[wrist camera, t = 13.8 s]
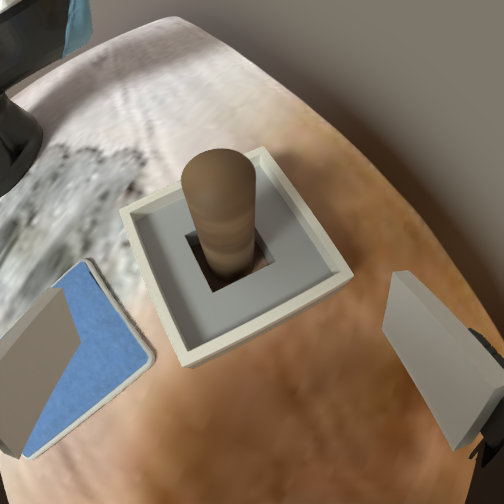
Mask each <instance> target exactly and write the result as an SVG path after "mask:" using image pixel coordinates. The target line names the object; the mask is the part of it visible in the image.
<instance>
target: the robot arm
mask: <svg viewBox="0 0 504 504" xmlns="http://www.w3.org/2000/svg"><path fill="white" fill-rule="evenodd" d="M92 34H93V28H92V18H91V10H90V3H89V0H0V197H1V196H2V195H4V194H5V193H6V192H7V191H9V190H10V189H11V188H12V187H13V186H14V185H15V184H16V183H17V182H18V181H19V180H20V178H21V177H22V176H23V175H24V174H25V172H26V171H27V170H28V168H29V167H30V165H31V164H32V162H33V161H34V159H35V157H36V155H37V153H38V151H39V149H40V146H41V143H42V138H43V132H42V128H41V126H40V125H39V123H38V122H37V120H36V119H35V118H34V117H33V116H32V115H31V114H29V113H28V112H27V111H25V110H24V109H22V108H21V107H19V106H18V105H16V104H15V103H14V102H12V101H11V100H10V99H9V98H8V97H7V95H6V94H5V91H7V90H9V89H10V88H11V87H13V86H15V85H16V84H18V83H19V82H21V81H22V80H24V79H26V78H27V77H29V76H30V75H32V74H34V73H36V72H37V71H39V70H41V69H43V68H44V67H46V66H48V65H50V64H52V63H53V62H55V61H57V60H59V59H64V58H65V57H66V55H68V54H70V53H72V52H74V51H76V50H77V49H79V48H81V47H83V46H85V45H86V44H87V43H88V42H89V40H90V39H91V37H92ZM382 331H383V333H384V334H385V336H386V337H387V339H388V341H389V342H390V344H391V345H392V347H393V348H394V350H395V352H396V353H397V355H398V356H399V358H400V360H401V361H402V363H403V365H404V366H405V368H406V370H407V371H408V373H409V375H410V376H411V378H412V380H413V381H414V383H415V385H416V386H417V388H418V390H419V391H420V393H421V395H422V396H423V398H424V400H425V402H426V403H427V405H428V407H429V409H430V410H431V412H432V414H433V416H434V418H435V419H436V421H437V423H438V425H439V427H440V428H441V430H442V432H443V434H444V436H445V438H446V439H447V441H448V443H449V445H450V447H451V449H452V451H455V450H457V449H460V448H462V447H464V446H466V445H468V444H470V443H472V441H473V440H474V439H475V437H476V436H477V435H478V433H479V432H481V434H482V435H483V437H484V438H483V439H482V440H481V442H480V443H479V444H478V445H477V447H476V448H475V449H474V450H473V452H472V453H471V455H470V457H469V459H472V458H473V457H474V456H475V454H476V453H477V452H478V455H477V458H476V464H475V468H474V472H473V476H472V480H471V484H470V488H469V491H468V494H467V498H466V501H465V504H504V358H503V357H502V356H501V355H500V354H498V353H497V351H496V349H495V348H494V347H493V346H491V344H490V343H489V342H488V341H487V340H486V339H485V338H484V337H483V335H481V334H480V333H478V332H476V331H475V330H473V329H471V328H468V329H467V328H466V327H465V326H464V325H463V324H462V323H461V322H460V320H459V319H458V318H457V317H456V316H455V315H454V314H453V313H452V312H451V311H450V310H449V309H448V308H447V307H446V306H445V305H444V304H443V303H442V302H441V301H440V300H439V299H438V298H437V297H436V296H435V295H434V294H433V293H432V292H431V291H430V290H429V289H428V288H427V287H426V286H425V285H424V284H423V283H422V282H421V281H420V280H418V279H417V278H416V277H415V276H414V275H413V274H412V273H411V272H410V271H409V270H407V271H396V272H392V278H391V284H390V290H389V296H388V301H387V306H386V311H385V316H384V321H383V325H382ZM80 344H81V340H80V337H79V335H78V332H77V329H76V327H75V324H74V321H73V318H72V315H71V312H70V310H69V307H68V304H67V301H66V297H65V294H64V291H63V288H48V289H47V290H46V291H45V292H44V293H43V294H42V295H41V296H40V297H39V298H38V299H37V300H36V301H35V302H34V303H33V304H32V306H31V307H30V308H29V309H28V310H27V311H26V312H25V313H24V314H23V315H22V316H21V317H20V319H19V320H18V321H17V322H16V323H15V324H14V325H13V326H12V327H11V329H10V330H9V331H8V332H7V333H6V334H5V336H4V337H3V338H2V339H1V340H0V449H1V450H2V452H3V453H5V454H7V455H9V456H12V457H14V458H17V459H20V456H21V454H22V452H23V450H24V448H25V445H26V443H27V441H28V439H29V437H30V435H31V433H32V431H33V429H34V427H35V425H36V423H37V421H38V419H39V417H40V415H41V413H42V411H43V409H44V407H45V405H46V403H47V401H48V400H49V398H50V396H51V394H52V392H53V390H54V388H55V387H56V385H57V383H58V381H59V379H60V378H61V376H62V374H63V372H64V371H65V369H66V367H67V365H68V364H69V362H70V360H71V359H72V357H73V355H74V354H75V352H76V350H77V349H78V347H79V345H80ZM0 504H9V502H8V499H7V496H6V492H5V489H4V485H3V481H2V477H1V473H0Z"/></svg>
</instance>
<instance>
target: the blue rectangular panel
mask: <svg viewBox="0 0 504 504" xmlns="http://www.w3.org/2000/svg"><path fill="white" fill-rule="evenodd" d="M50 288H63V291H64V294H65V297H66V301H67V304H68V307H69V310H70V312H71V315H72V318H73V321H74V324H75V327H76V329H77V332H78V335H79V337H80V340H81V344H80V345H79V347H78V349H77V350H76V352H75V354H74V355H73V357H72V359H71V360H70V362H69V364H68V365H67V367H66V369H65V371H64V372H63V374H62V376H61V378H60V379H59V381H58V383H57V385H56V387H55V388H54V390H53V392H52V394H51V396H50V398H49V400H48V401H47V403H46V405H45V407H44V409H43V411H42V413H41V415H40V417H39V419H38V421H37V423H36V425H35V427H34V429H33V431H32V433H31V435H30V437H29V439H28V441H27V443H26V445H25V448H24V450H23V452H22V455H23V456H24V457H25V458H26V459H27V460H34V459H36V458H37V457H38V456H39V455H41V454H42V453H43V452H44V451H46V450H47V449H48V448H50V447H51V446H52V445H54V444H55V443H56V442H58V441H59V440H60V439H61V438H63V437H64V436H65V435H66V434H68V433H69V432H70V431H72V430H73V429H74V428H76V427H77V426H78V425H79V424H81V423H82V422H83V421H84V420H86V419H87V418H88V417H89V416H91V415H92V414H93V413H94V412H96V411H97V410H98V409H99V408H101V407H102V406H103V405H105V404H106V403H108V402H109V401H110V400H112V399H113V398H114V397H115V396H116V395H118V394H119V393H120V392H122V391H123V390H124V388H126V387H127V386H128V385H130V384H131V383H133V382H134V381H135V380H136V379H137V378H138V377H139V376H141V375H142V374H143V373H144V372H146V371H147V370H148V369H149V368H151V367H152V366H153V364H154V362H155V356H154V353H153V352H152V350H151V349H150V347H149V346H148V345H147V344H146V342H145V341H143V340H142V338H141V336H140V334H139V333H138V332H137V330H136V329H135V327H134V326H133V325H132V323H131V322H130V321H129V319H128V318H127V316H126V315H125V313H124V312H123V311H122V309H121V308H120V306H119V305H118V303H117V302H116V300H115V299H114V297H113V296H112V294H111V293H110V291H109V290H108V288H107V287H106V285H105V284H104V282H103V280H102V279H101V277H100V276H99V274H98V272H97V271H96V269H95V267H94V266H93V264H92V262H91V261H89V260H87V259H82V260H80V261H78V262H77V263H76V264H75V265H74V266H73V267H72V268H70V269H69V270H68V271H67V272H66V273H65V274H64V275H63V276H62V277H60V278H59V279H58V280H57V281H56V282H55V283H54V284H53V285H52V286H51V287H50ZM31 306H32V305H31ZM31 306H30V307H31ZM30 307H29V308H30ZM29 308H28V309H29ZM28 309H27V310H28ZM27 310H26V311H27ZM26 311H25V312H26ZM25 312H24V313H25ZM24 313H23V314H24ZM23 314H22V315H23ZM22 315H21V316H22ZM21 316H20V317H21ZM20 317H19V318H18V319H17V320H16V321H15V322H14V323H13V324H12V325H11V326H10V327H9V328H8V329H7V330H6V331H5V332H4V333H3V334H2V336H1V337H0V340H1V339H2V338H3V337H4V336H5V334H6V333H7V332H8V331H9V330H10V329H11V327H12V326H13V325H14V324H15V323H16V322H17V321H18V320H19V319H20Z"/></svg>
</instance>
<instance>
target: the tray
mask: <svg viewBox="0 0 504 504" xmlns="http://www.w3.org/2000/svg"><path fill="white" fill-rule="evenodd" d="M243 155H245V156H246V157H247V158H248V159H249V160H250V161H251V162H252V164H253V165H254V168H255V171H256V201H255V238H254V239H255V241H256V243H257V244H258V246H259V248H260V249H261V251H262V253H263V254H264V256H265V258H266V260H267V261H268V263H269V265H268V266H266V267H264V268H262V269H260V270H258V271H256V272H254V273H252V274H250V275H248V276H246V277H244V278H242V279H240V280H238V281H236V282H234V283H232V284H230V285H228V286H226V287H224V288H222V289H220V290H218V291H216V292H214V293H212V291H211V289H210V287H209V285H208V283H207V281H206V279H205V277H204V275H203V273H202V271H201V269H200V267H199V265H198V263H197V261H196V258H195V256H194V254H193V252H192V250H191V248H190V247H192V246H194V245H196V244H198V243H200V240H199V237H198V235H197V232H196V229H195V226H194V223H193V220H192V217H191V214H190V211H189V208H188V205H187V202H186V199H185V196H184V193H183V190H182V186H181V180H180V181H178V182H176V183H173V184H171V185H169V186H167V187H165V188H163V189H160V190H158V191H156V192H154V193H152V194H150V195H148V196H146V197H144V198H142V199H140V200H138V201H135V202H133V203H131V204H129V205H127V206H125V207H123V208H122V209H120V210H119V212H120V215H121V218H122V221H123V224H124V227H125V230H126V233H127V236H128V239H129V241H130V244H131V247H132V250H133V252H134V255H135V258H136V261H137V263H138V266H139V268H140V271H141V274H142V276H143V279H144V281H145V284H146V286H147V289H148V291H149V294H150V296H151V299H152V301H153V303H154V306H155V308H156V310H157V313H158V315H159V317H160V320H161V322H162V324H163V327H164V329H165V331H166V333H167V335H168V338H169V340H170V342H171V344H172V346H173V348H174V351H175V353H176V355H177V357H178V359H179V361H180V363H181V365H182V367H185V368H191V369H194V368H196V367H198V366H200V365H202V364H204V363H206V362H209V361H211V360H213V359H215V358H217V357H219V356H221V355H223V354H225V353H227V352H229V351H231V350H233V349H235V348H237V347H239V346H241V345H243V344H245V343H247V342H249V341H251V340H252V339H254V338H256V337H258V336H260V335H262V334H264V333H266V332H268V331H270V330H271V329H273V328H275V327H277V326H279V325H281V324H283V323H284V322H286V321H288V320H290V319H292V318H293V317H295V316H297V315H299V314H301V313H302V312H304V311H306V310H308V309H309V308H311V307H313V306H315V305H316V304H318V303H320V302H322V301H323V300H325V299H327V298H328V297H330V296H332V295H334V294H335V293H337V292H339V291H340V290H341V289H342V288H343V287H344V286H345V285H346V284H347V283H348V282H349V281H350V280H351V279H352V278H353V276H354V274H353V273H352V271H351V269H350V268H349V266H348V265H347V263H346V262H345V260H344V259H343V257H342V256H341V254H340V253H339V251H338V250H337V248H336V247H335V245H334V244H333V242H332V241H331V239H330V238H329V236H328V235H327V233H326V232H325V230H324V229H323V227H322V226H321V224H320V223H319V222H318V220H317V219H316V217H315V216H314V214H313V213H312V211H311V210H310V209H309V207H308V206H307V204H306V203H305V202H304V200H303V199H302V197H301V196H300V195H299V193H298V192H297V190H296V189H295V188H294V186H293V185H292V183H291V182H290V181H289V179H288V178H287V177H286V175H285V174H284V173H283V171H282V170H281V169H280V167H279V166H278V165H277V163H276V162H275V161H274V159H273V158H272V157H271V155H270V154H269V153H268V151H267V150H266V149H265V147H264V146H262V147H260V148H257V149H255V150H252V151H249V152H247V153H244V154H243Z"/></svg>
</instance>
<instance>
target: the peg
mask: <svg viewBox="0 0 504 504" xmlns="http://www.w3.org/2000/svg"><path fill="white" fill-rule="evenodd" d="M181 186H182V190H183V193H184V196H185V199H186V202H187V205H188V208H189V211H190V214H191V217H192V220H193V223H194V226H195V229H196V232H197V235H198V237H199V240H200V243H201V246H202V249H203V252H204V255H205V258H206V260H207V263H208V266H209V269H210V271H211V272H212V274H213V275H214V276H215V277H216V278H218V279H220V280H222V281H225V282H236V281H238V280H240V279H242V278H244V277H246V276H247V275H248V274H249V273H250V271H251V270H252V267H253V264H254V238H255V201H256V171H255V168H254V165H253V164H252V162H251V161H250V160H249V159H248V158H247V157H246V156H245V155H243V154H241V153H240V152H237V151H234V150H231V149H212V150H208V151H205V152H203V153H200V154H199V155H197V156H195V157H194V158H193V159H192V160H190V161H189V163H188V164H187V165H186V166H185V168H184V170H183V172H182V176H181Z"/></svg>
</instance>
